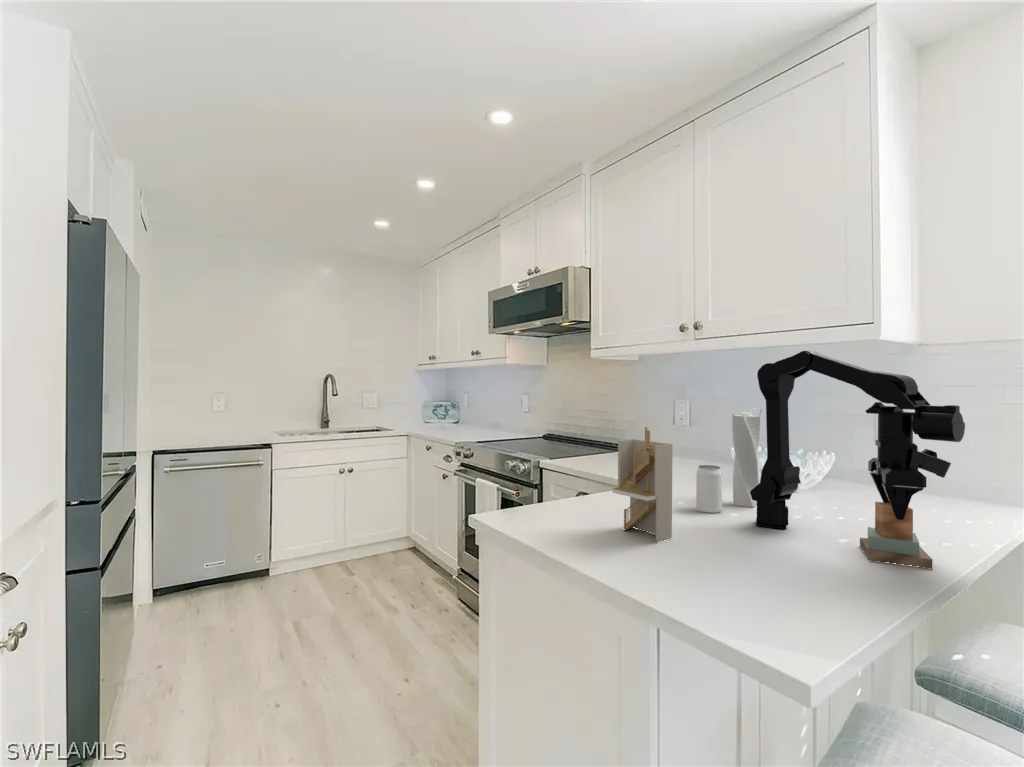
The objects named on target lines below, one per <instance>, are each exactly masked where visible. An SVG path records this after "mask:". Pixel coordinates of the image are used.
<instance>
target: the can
mask: <svg viewBox="0 0 1024 767" xmlns="http://www.w3.org/2000/svg"><path fill="white" fill-rule="evenodd" d="M722 479H723V475H722V471H721V466H718V465H713V464H711V465H710V464H699V465H698V468H697V470H696V485H695V486H696V488H695V489H696V491H695V492H696V494H695V495H696V497H695V498H696V502H695V504H696V505H695V506H696V510H697V511H699V512H700V511H701V513H704V512H705V514H719V513H721V512H722V510H723V509H722V505H723V502H722V501H723V499H722V498H723V480H722Z"/></svg>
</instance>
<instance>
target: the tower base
mask: <svg viewBox="0 0 1024 767" xmlns="http://www.w3.org/2000/svg"><path fill="white" fill-rule="evenodd" d="M860 546H861V547H860ZM859 547H860V548H862V549H861V550H863V551H864V552H863V551H862V552H863V553H865V554H864V556H865V555H866V556H867V557H866V556H865V557H866V559H867V558H868V559H867V560H871V561H870V562H873V561H880V562H879V563H881V562H889V563H896V564H904V565H912V566H919V567H925V568H924V569H926V568H931V569H930V570H933V558H931V556H930V555H929V554H928V553H927V552H926V551H925V550H924V549H923V547H922V546H920V545H919V556H914V555H907V554H901V553H894V552H888V551H881V550H875V549H869V547H868V537H859ZM896 564H895V565H896ZM919 567H918V568H919Z"/></svg>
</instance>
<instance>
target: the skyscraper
mask: <svg viewBox="0 0 1024 767" xmlns="http://www.w3.org/2000/svg"><path fill="white" fill-rule="evenodd" d="M754 410H760V411H759V415H753V413H752V412H753V411H754ZM762 412H763V408H762V407H759V406H757V407H752V409H750V411H746V412H744V411H743V412H742V411H741V412H733V413H732V414H731V415H732V416H731V420H732V422H731V424H732V425H731V426H732V427H731V428H732V430H731V431H732V442H733V451H734V461H733V472H732V474H733V475H732V476H733V477H732V502H733V504H732V505H734V506H739V507H747V508H753V509H754V508H755V507H757V501H755V500H752V497H751V494H750V491H751V490H752V489H753V488H755V487H756V486H757V485H758V484H759V483H760V479H759V472H760V471H759V463H758V456H757V455H758V448H759V442H760V433H761V419H762V418H761V416H762Z"/></svg>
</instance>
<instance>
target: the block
mask: <svg viewBox="0 0 1024 767" xmlns="http://www.w3.org/2000/svg"><path fill="white" fill-rule="evenodd" d="M874 505H875V506H874V509H875V510H874V528H875V531H876V532H877V533H878V534H879V535H880V536H882V537H886V538H896V539H906V540H913V533H914V509H913V508H911V507H910V506H908V508H907V511H906V514H905V517H904V520H897V519H896V517H895V515H894V512H893V510H892V507H891V505H890V503H885V502H883V501H882V502H881V501H875V502H874Z"/></svg>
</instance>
